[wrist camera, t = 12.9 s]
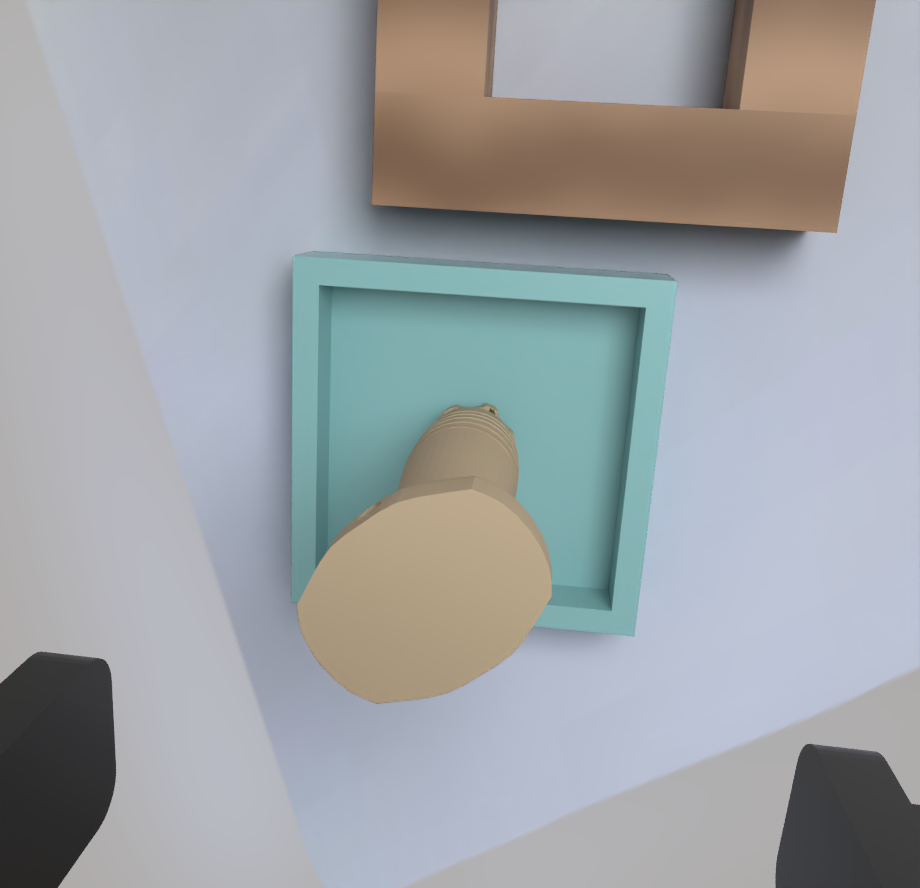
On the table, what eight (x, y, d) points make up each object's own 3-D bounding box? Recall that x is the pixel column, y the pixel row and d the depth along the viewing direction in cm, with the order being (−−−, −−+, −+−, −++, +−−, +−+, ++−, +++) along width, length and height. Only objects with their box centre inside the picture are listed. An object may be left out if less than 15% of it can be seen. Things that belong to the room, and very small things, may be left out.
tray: (313, 251, 35) (292, 256, 33) (667, 274, 34) (677, 281, 31) (310, 572, 39) (290, 602, 36) (628, 603, 38) (634, 636, 35)
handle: (574, 440, 35) (589, 609, 21) (446, 525, 37) (378, 736, 23) (503, 343, 35) (470, 449, 20) (376, 433, 36) (260, 592, 22)
